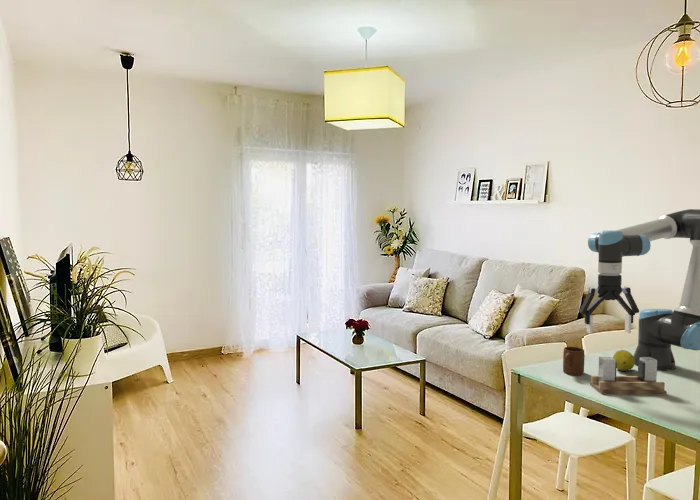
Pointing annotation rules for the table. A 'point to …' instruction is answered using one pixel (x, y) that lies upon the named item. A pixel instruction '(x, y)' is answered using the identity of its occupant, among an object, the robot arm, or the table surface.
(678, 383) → the table surface
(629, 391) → the rail
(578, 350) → the mug
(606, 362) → the block
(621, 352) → the lemon
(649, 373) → the finger
